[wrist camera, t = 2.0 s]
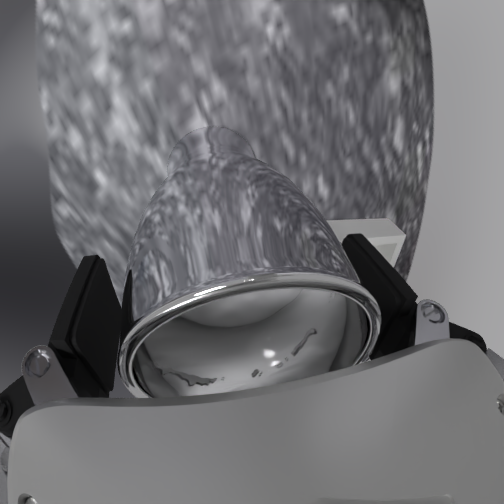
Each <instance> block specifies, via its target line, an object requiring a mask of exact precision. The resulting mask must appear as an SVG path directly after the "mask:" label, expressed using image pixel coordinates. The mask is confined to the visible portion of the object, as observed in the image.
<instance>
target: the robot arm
mask: <svg viewBox="0 0 504 504" xmlns="http://www.w3.org/2000/svg"><path fill="white" fill-rule="evenodd" d="M342 245H343V247H344V248H345V250H346V252H347V253H348V255H349V257H350V258H351V260H352V262H353V264H354V266H355V267H356V269H357V271H358V273H359V275H360V276H361V278H362V280H363V282H364V283H365V285H366V287H367V289H368V290H369V292H370V293H371V294H372V296H373V297H374V298H375V299H376V301H377V303H378V305H379V307H380V310H381V314H382V328H381V333H380V336H379V339H378V342H377V344H376V346H375V347H374V349H373V351H372V352H371V354H370V355H369V357H370V359H371V361H368V362H364V363H361V364H358V365H354V366H351V367H347V368H344V369H340V370H337V371H333V372H329V373H325V374H321V375H317V376H313V377H309V378H304V379H300V380H295V381H291V382H286V383H281V384H276V385H270V386H264V387H259V388H252V389H246V390H239V391H231V392H223V393H215V394H205V395H194V396H180V397H160V398H109V391H112V390H113V387H114V377H115V368H116V360H117V352H118V345H119V338H120V332H121V315H122V309H121V306H120V303H119V301H118V298H117V295H116V293H115V290H114V287H113V284H112V282H111V279H110V276H109V273H108V270H107V267H106V264H105V261H104V259H103V258H101V259H100V257H99V256H98V255H92V256H84V257H83V259H82V261H81V263H80V265H79V267H78V269H77V272H76V274H75V276H74V278H73V281H72V283H71V285H70V287H69V290H68V292H67V295H66V297H65V300H64V302H63V305H62V307H61V310H60V312H59V315H58V318H57V321H56V323H55V326H54V329H53V332H52V335H51V338H50V341H49V344H48V347H47V346H43V345H41V346H36V347H35V348H32V349H31V350H30V351H29V352H28V353H27V354H26V355H25V357H24V359H23V361H22V368H21V369H22V374H23V375H22V376H21V377H20V378H19V379H17V380H16V381H15V382H14V383H12V384H11V385H10V386H9V387H8V388H7V389H5V390H4V391H3V392H2V393H0V504H504V359H503V358H501V357H500V356H499V355H497V354H496V353H495V352H493V351H492V350H491V349H489V348H488V349H487V348H486V344H485V342H484V340H483V338H482V337H481V336H480V335H479V334H477V333H475V332H473V331H471V330H468V329H466V328H463V327H460V326H458V325H456V324H453V323H451V322H449V319H448V314H447V312H446V310H445V309H444V308H443V307H442V306H441V305H440V304H439V303H437V302H435V301H432V300H422V301H420V302H419V303H418V304H417V303H416V302H415V301H416V299H417V297H418V296H417V295H416V293H415V292H414V291H413V290H412V289H411V287H410V286H409V285H408V284H407V283H406V282H405V280H404V279H403V278H402V277H401V276H400V275H399V273H398V272H397V271H396V270H395V269H394V268H393V267H392V266H391V264H390V263H389V262H388V261H387V260H386V259H385V258H384V257H383V256H382V254H381V253H380V252H379V251H378V250H377V249H376V248H375V247H374V246H373V245H372V244H371V243H370V242H369V241H368V239H367V238H366V237H365V236H364V235H363V234H361V233H356V234H348V235H347V236H346V238H344V239H343V241H342Z"/></svg>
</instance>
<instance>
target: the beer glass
mask: <svg viewBox="0 0 504 504" xmlns="http://www.w3.org/2000/svg"><path fill="white" fill-rule="evenodd" d="M167 176H168V177H167V178H166V179H165V180H164V181H163V183H162V184H161V185H160V186H159V188H158V189H157V191H156V192H155V194H154V195H153V197H152V198H151V200H150V201H149V203H148V205H147V206H146V208H145V210H144V212H143V215H142V217H141V220H140V222H139V225H138V228H137V230H136V233H135V236H134V239H133V242H132V246H131V251H130V255H129V260H128V264H127V269H126V275H125V283H124V292H123V301H122V315H121V333H120V349H119V353H118V362H117V364H118V371H119V374H120V377H121V379H122V381H123V383H124V384H125V386H126V387H127V388H128V390H129V391H130V392H131V393H132V394H133V395H134V396H135V397H136V398H160V397H180V396H194V395H205V394H215V393H223V392H231V391H239V390H246V389H252V388H259V387H264V386H270V385H276V384H281V383H286V382H291V381H295V380H300V379H304V378H309V377H313V376H317V375H321V374H325V373H329V372H333V371H337V370H340V369H344V368H347V367H351V366H354V365H358V364H361V363H364V362H365V360H366V359H367V358H368V357H369V355H370V354H371V352H372V351H373V349H374V347H375V346H376V344H377V342H378V339H379V336H380V333H381V328H382V314H381V310H380V307H379V305H378V303H377V301H376V299H375V298H374V297H373V296H372V294H371V293H370V292H369V290H368V289H367V287H366V285H365V283H364V282H363V280H362V278H361V276H360V275H359V273H358V271H357V269H356V267H355V266H354V264H353V262H352V260H351V258H350V257H349V255H348V253H347V252H346V250H345V248H344V247H343V245H342V243H341V242H340V240H339V239H338V237H337V236H336V234H335V232H334V231H333V229H332V228H331V226H330V225H329V224H328V222H327V221H326V220H325V218H324V217H323V216H322V214H321V213H320V212H319V210H318V209H317V208H316V206H315V205H314V204H313V203H312V202H311V200H310V199H309V198H308V197H307V196H306V195H305V194H304V193H303V192H302V191H301V190H300V189H299V188H298V187H297V186H296V185H295V184H294V183H293V182H292V181H291V180H290V179H288V178H287V177H286V176H284V175H283V174H281V173H280V172H278V171H277V170H275V169H274V168H272V167H271V166H269V165H268V164H266V163H264V162H262V161H260V160H258V159H256V158H255V156H254V153H253V151H252V148H251V147H250V145H249V144H248V142H247V141H246V140H245V139H244V138H243V137H242V136H241V135H239V134H238V133H236V132H234V131H232V130H230V129H227V128H224V127H217V126H210V127H203V128H199V129H196V130H194V131H192V132H190V133H188V134H187V135H185V136H184V137H183V138H182V139H180V140H179V142H178V143H177V144H176V145H175V147H174V148H173V150H172V152H171V154H170V156H169V159H168V165H167Z"/></svg>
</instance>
